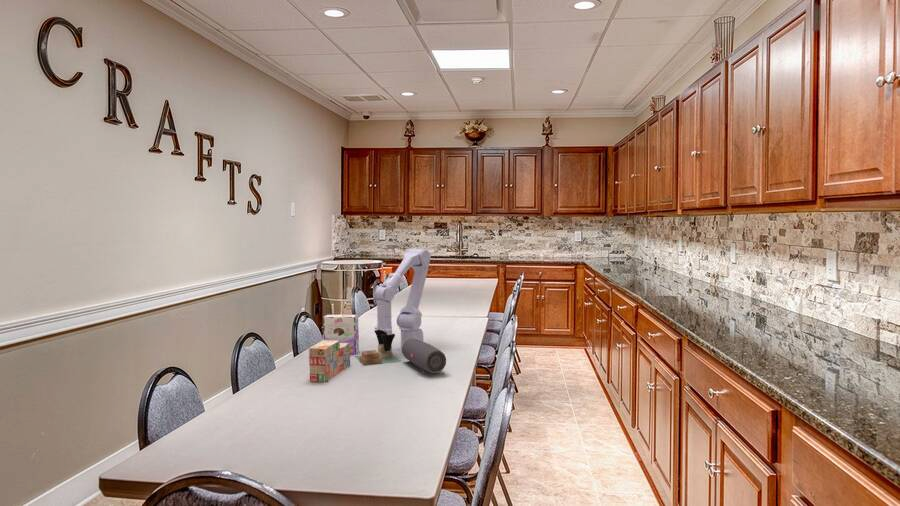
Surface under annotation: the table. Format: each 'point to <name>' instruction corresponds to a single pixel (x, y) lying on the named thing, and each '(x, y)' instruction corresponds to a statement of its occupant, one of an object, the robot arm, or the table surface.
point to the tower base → (370, 361)
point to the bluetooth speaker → (424, 355)
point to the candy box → (342, 330)
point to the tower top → (370, 354)
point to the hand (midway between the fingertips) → (384, 349)
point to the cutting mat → (385, 360)
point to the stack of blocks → (328, 360)
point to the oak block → (384, 353)
